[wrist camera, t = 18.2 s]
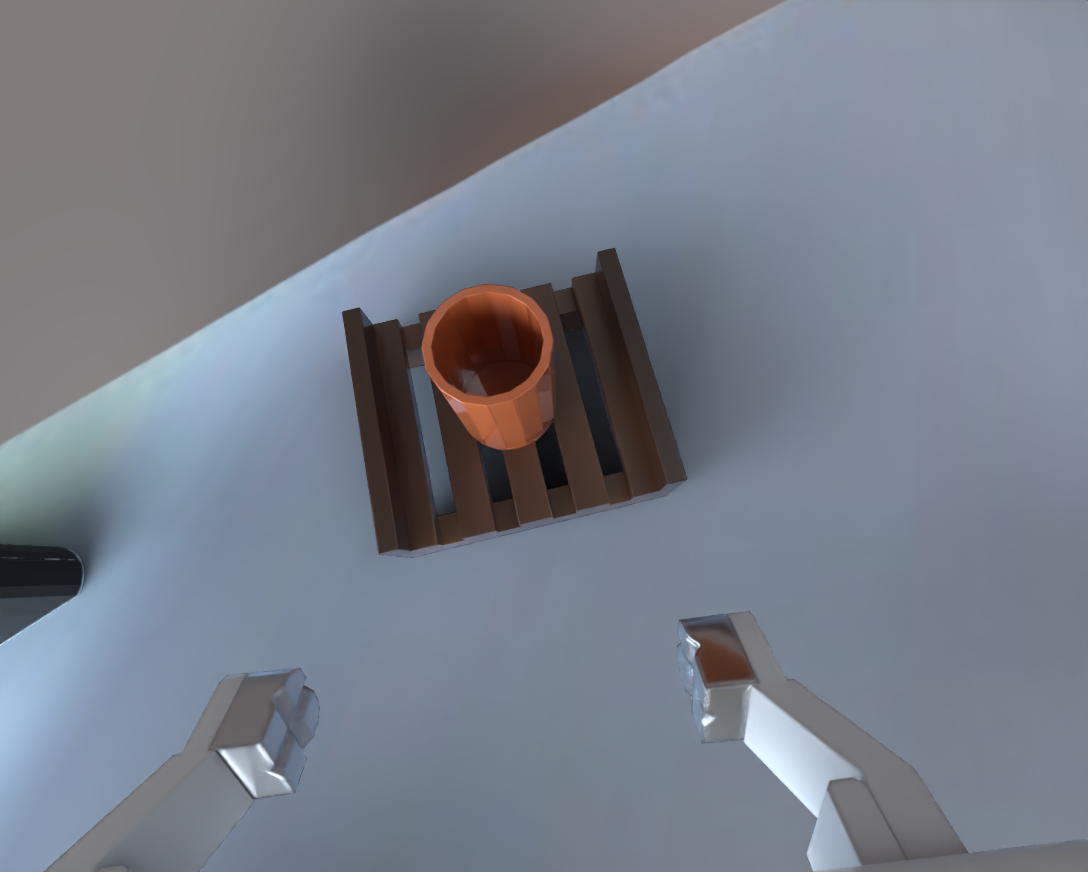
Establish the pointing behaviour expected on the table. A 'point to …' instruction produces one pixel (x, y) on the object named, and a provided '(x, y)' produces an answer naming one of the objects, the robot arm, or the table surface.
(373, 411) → the rack
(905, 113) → the table surface
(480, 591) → the table surface
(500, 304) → the cup
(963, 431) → the table surface
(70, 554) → the camera
